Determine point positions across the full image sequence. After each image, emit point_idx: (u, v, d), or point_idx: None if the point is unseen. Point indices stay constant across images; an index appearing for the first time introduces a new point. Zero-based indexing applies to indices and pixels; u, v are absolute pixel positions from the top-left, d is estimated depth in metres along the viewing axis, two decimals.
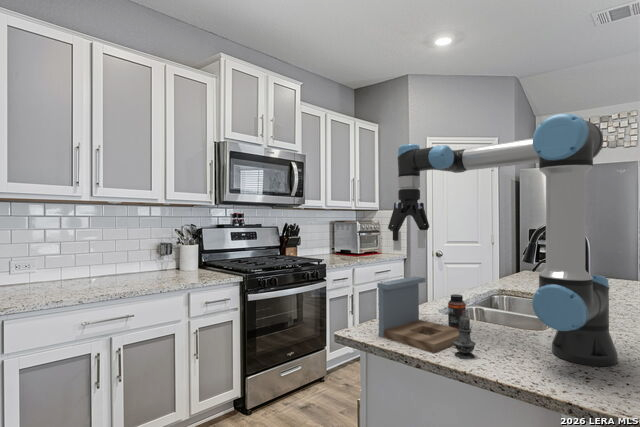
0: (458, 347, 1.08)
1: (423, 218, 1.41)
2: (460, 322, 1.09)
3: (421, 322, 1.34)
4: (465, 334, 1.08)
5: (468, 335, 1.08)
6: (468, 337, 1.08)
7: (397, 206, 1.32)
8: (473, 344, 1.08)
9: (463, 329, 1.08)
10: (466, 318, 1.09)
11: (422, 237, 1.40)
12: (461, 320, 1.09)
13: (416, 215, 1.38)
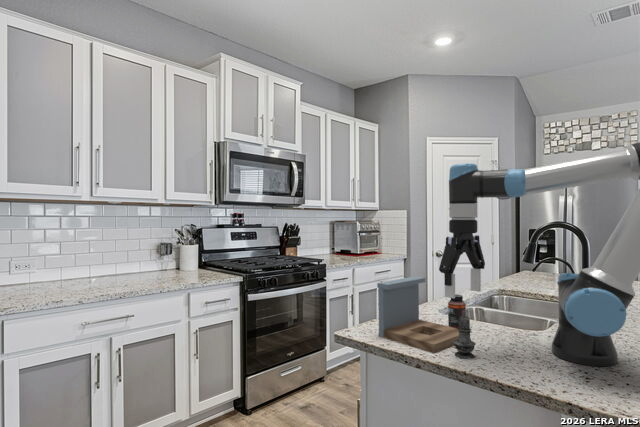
0: (458, 347, 1.08)
1: (478, 254, 1.14)
2: (460, 322, 1.09)
3: (421, 322, 1.34)
4: (465, 334, 1.08)
5: (468, 335, 1.08)
6: (468, 337, 1.08)
7: (450, 242, 1.05)
8: (473, 344, 1.08)
9: (463, 329, 1.08)
10: (466, 318, 1.09)
11: (477, 278, 1.13)
12: (461, 320, 1.09)
13: (471, 251, 1.11)
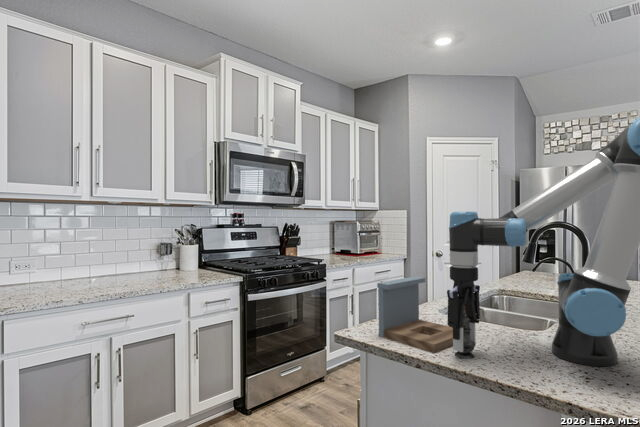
0: None
1: (475, 305, 1.13)
2: None
3: (421, 322, 1.34)
4: (465, 334, 1.08)
5: (468, 335, 1.08)
6: (468, 337, 1.08)
7: (452, 296, 1.05)
8: (473, 344, 1.08)
9: (463, 329, 1.08)
10: (466, 318, 1.09)
11: (472, 332, 1.11)
12: None
13: (469, 300, 1.10)
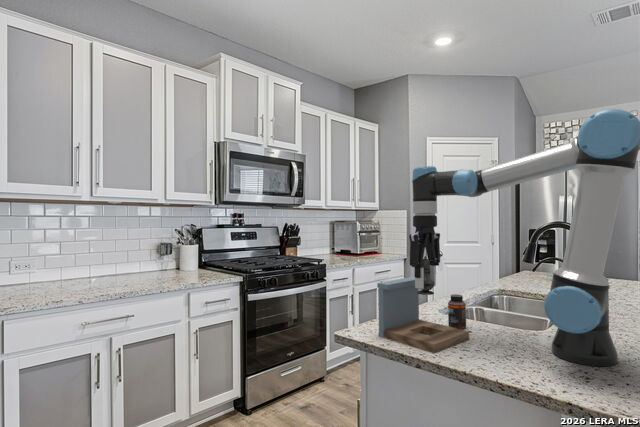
0: None
1: (436, 250, 1.28)
2: None
3: (421, 322, 1.34)
4: (425, 274, 1.24)
5: (428, 275, 1.24)
6: (428, 276, 1.24)
7: (413, 239, 1.21)
8: (432, 282, 1.23)
9: (424, 270, 1.24)
10: (426, 260, 1.24)
11: (432, 274, 1.26)
12: (422, 262, 1.24)
13: (430, 245, 1.25)
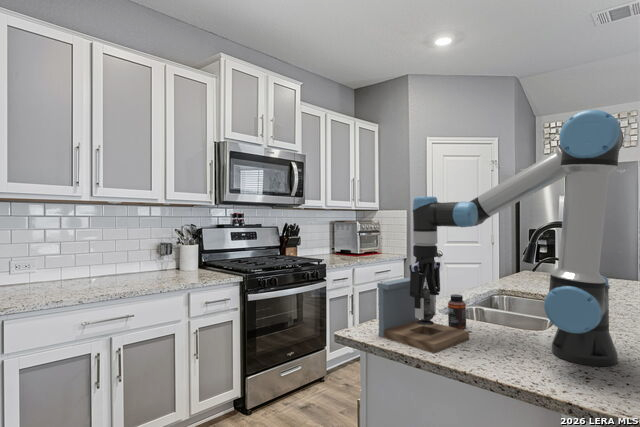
0: None
1: (436, 279, 1.28)
2: None
3: None
4: (425, 304, 1.24)
5: (428, 305, 1.24)
6: (428, 306, 1.24)
7: (413, 270, 1.21)
8: (432, 312, 1.23)
9: (424, 300, 1.24)
10: (426, 290, 1.24)
11: (432, 303, 1.26)
12: None
13: (430, 274, 1.25)
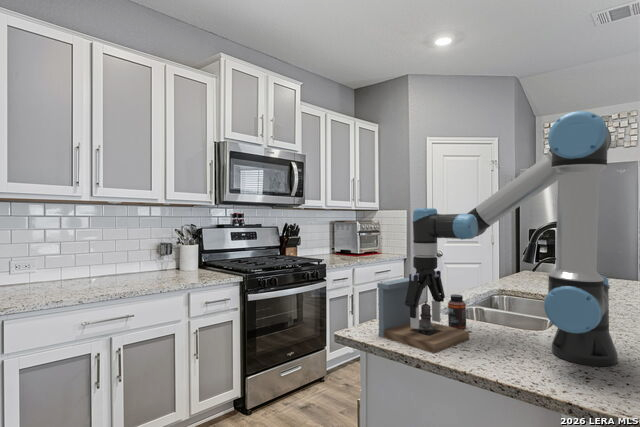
0: (420, 331, 1.24)
1: (439, 287, 1.29)
2: (422, 309, 1.24)
3: None
4: (426, 320, 1.23)
5: (429, 320, 1.24)
6: (429, 322, 1.24)
7: (413, 279, 1.20)
8: (433, 328, 1.23)
9: (424, 315, 1.24)
10: (427, 305, 1.24)
11: (437, 310, 1.28)
12: (423, 307, 1.24)
13: (432, 285, 1.26)
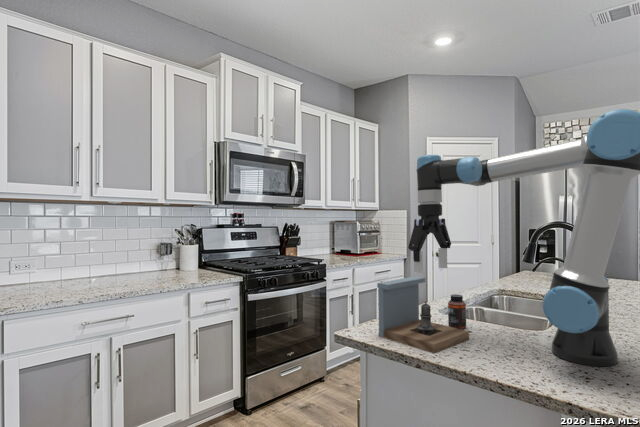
0: (420, 331, 1.24)
1: (444, 235, 1.29)
2: (422, 309, 1.24)
3: None
4: (426, 320, 1.23)
5: (429, 320, 1.24)
6: (429, 322, 1.24)
7: (418, 223, 1.20)
8: (433, 328, 1.23)
9: (424, 315, 1.24)
10: (427, 306, 1.24)
11: (444, 256, 1.28)
12: (423, 307, 1.24)
13: (437, 232, 1.26)
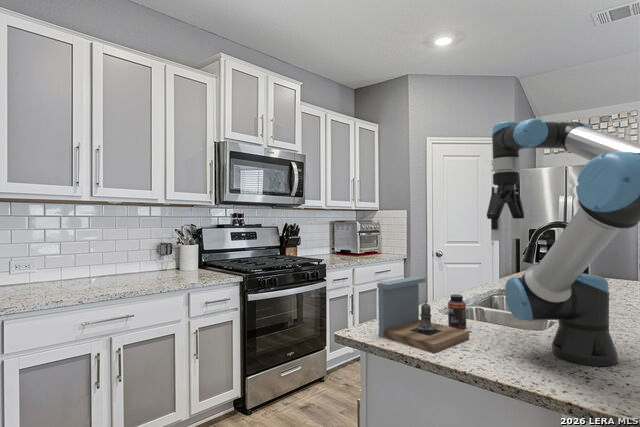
0: (420, 331, 1.24)
1: (518, 205, 1.27)
2: (422, 309, 1.24)
3: None
4: (426, 320, 1.23)
5: (429, 320, 1.24)
6: (429, 322, 1.24)
7: (496, 191, 1.18)
8: (433, 328, 1.23)
9: (424, 315, 1.24)
10: (427, 305, 1.24)
11: (518, 226, 1.26)
12: (423, 307, 1.24)
13: (513, 202, 1.24)
